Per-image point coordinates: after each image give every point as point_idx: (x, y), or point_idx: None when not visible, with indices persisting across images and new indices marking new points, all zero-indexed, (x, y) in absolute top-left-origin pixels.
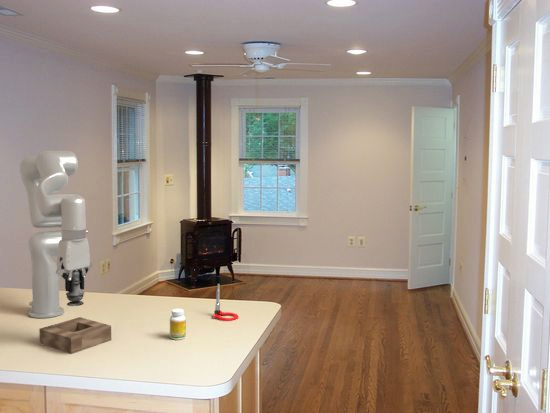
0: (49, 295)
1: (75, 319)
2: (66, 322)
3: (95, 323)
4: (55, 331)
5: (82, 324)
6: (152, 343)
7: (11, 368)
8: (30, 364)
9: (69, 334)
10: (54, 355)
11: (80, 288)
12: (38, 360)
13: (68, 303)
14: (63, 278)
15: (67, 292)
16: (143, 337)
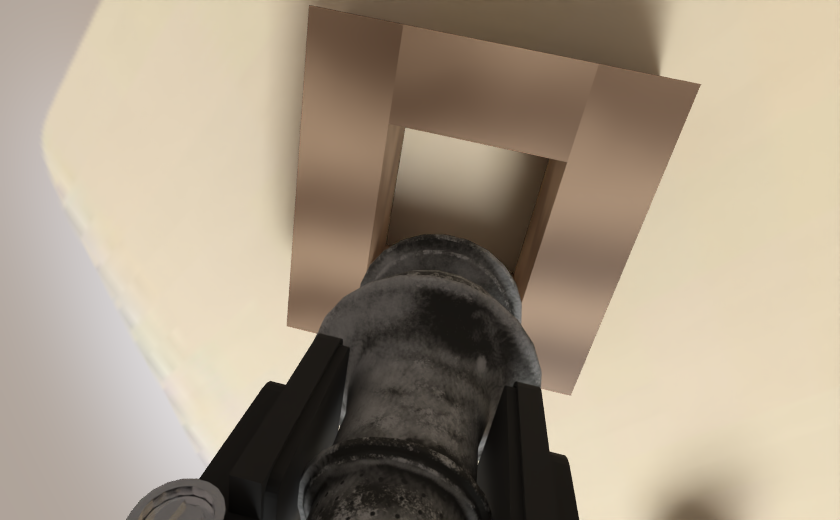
0: None
1: (624, 98)
2: (525, 88)
3: (578, 294)
4: (325, 165)
5: (550, 210)
6: (580, 504)
7: (58, 164)
8: (134, 206)
9: (327, 280)
10: (263, 228)
11: (482, 456)
12: (182, 204)
13: (376, 280)
14: (147, 499)
15: (403, 282)
16: (649, 448)
